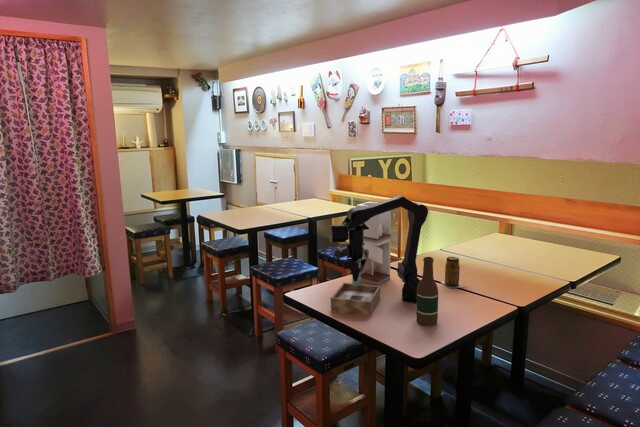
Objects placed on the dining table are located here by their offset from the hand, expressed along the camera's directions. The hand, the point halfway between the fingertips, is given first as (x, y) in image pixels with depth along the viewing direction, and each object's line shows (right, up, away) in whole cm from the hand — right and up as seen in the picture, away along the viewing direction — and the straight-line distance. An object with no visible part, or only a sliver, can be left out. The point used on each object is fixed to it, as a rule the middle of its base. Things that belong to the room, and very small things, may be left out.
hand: (356, 279), depth 175 cm
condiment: (+44, -6, +22) cm, 50 cm away
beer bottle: (+24, -13, -14) cm, 31 cm away
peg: (0, -2, 0) cm, 2 cm away
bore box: (0, -10, +2) cm, 11 cm away
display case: (+10, -5, +32) cm, 34 cm away
